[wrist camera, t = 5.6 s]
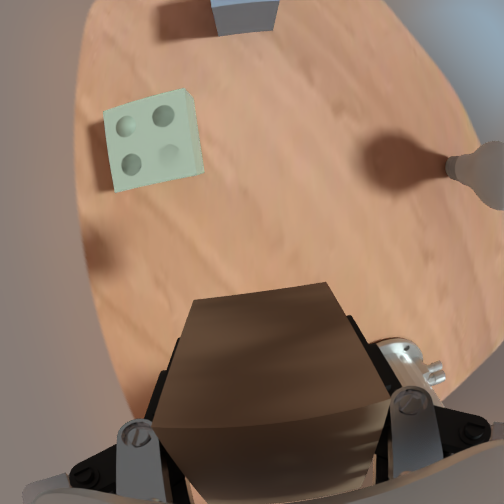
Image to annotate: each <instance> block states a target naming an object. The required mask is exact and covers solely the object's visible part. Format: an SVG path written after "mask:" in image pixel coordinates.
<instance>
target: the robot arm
mask: <svg viewBox="0 0 504 504" xmlns="http://www.w3.org/2000/svg"><path fill="white" fill-rule="evenodd" d="M346 317H347V318H348V320H349V322H350V324H351V325H352V327H353V329H354V331H355V332H356V334H357V336H358V338H359V340H360V341H361V343H362V345H363V347H364V349H365V350H366V352H367V354H368V356H369V358H370V359H371V361H372V363H373V365H374V367H375V369H376V371H377V372H378V374H379V376H380V378H381V380H382V382H383V384H384V386H385V388H386V389H387V391H388V393H389V395H390V397H391V402H390V405H389V409H388V412H387V416H386V419H385V423H384V426H383V429H382V432H381V435H380V438H379V441H378V444H377V447H376V450H375V453H374V456H373V459H374V460H373V461H374V463H373V486H370V487H366V488H362V489H359V490H355V491H351V492H347V493H343V494H339V495H334V496H329V497H324V498H319V499H313V500H307V501H300V502H294V503H285V504H504V423H502V422H494V423H493V425H490V424H489V423H488V422H487V420H485V419H484V418H482V417H480V416H477V415H473V414H468V413H464V412H459V411H455V410H451V409H447V408H445V407H444V405H443V404H442V402H441V401H440V399H439V398H438V396H437V395H436V393H435V392H434V390H433V389H432V387H431V386H432V385H433V386H434V385H436V384H439V383H441V382H443V381H445V373H444V371H443V370H441V369H442V363H441V361H436V362H434V363H431V364H430V365H427V364H424V363H423V355H422V353H421V350H420V349H419V348H418V346H417V345H416V344H415V343H413V342H412V341H410V340H407V339H401V338H396V339H389V340H385V341H381V342H379V343H376V344H375V343H373V344H368V343H367V341H366V339H365V337H364V336H363V334H362V332H361V331H360V329H359V327H358V326H357V324H356V322H355V321H354V319H353V317H352V316H351V315H348V316H346ZM179 340H180V338H178V339H177V342H176V345H175V347H174V350H173V353H172V356H171V359H170V362H169V365H168V367H167V370H163V371H161V373H160V375H159V378H158V380H157V383H156V386H155V389H154V391H153V394H152V397H151V400H150V403H149V406H148V409H147V412H146V414H145V417H144V419H135V420H131V421H129V422H127V423H125V424H124V425H123V426H122V427H121V428H120V430H119V432H118V435H117V444H115V445H113V446H112V447H109V448H108V449H106V450H104V451H102V452H100V453H98V454H96V455H94V456H92V457H90V458H88V459H86V460H84V461H82V462H80V463H78V464H77V465H75V466H74V467H73V468H72V469H71V472H70V474H69V475H67V474H66V473H63V474H60V475H56V476H53V477H50V478H47V479H43V480H40V481H36V482H33V483H30V484H28V485H26V487H25V488H24V490H23V492H22V497H23V503H24V504H194V500H193V496H192V491H191V487H190V482H189V480H188V479H187V478H186V476H185V475H184V474H183V473H182V471H181V470H180V469H179V467H178V466H177V465H176V463H175V462H174V460H173V459H172V458H171V456H170V455H169V453H168V452H167V451H166V449H165V448H164V446H163V445H162V443H161V442H160V440H159V439H158V437H157V436H156V434H155V433H154V431H153V429H152V428H151V425H152V422H153V419H154V415H155V412H156V409H157V406H158V403H159V400H160V396H161V393H162V390H163V387H164V384H165V381H166V378H167V375H168V372H169V369H170V366H171V363H172V360H173V357H174V354H175V351H176V349H177V346H178V343H179ZM430 373H431V374H430Z"/></svg>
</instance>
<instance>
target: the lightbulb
mask: <svg viewBox="0 0 504 504" xmlns="http://www.w3.org/2000/svg"><path fill="white" fill-rule="evenodd" d="M445 169H446V173H447V175H448V176H449V177H450V178H451V179H453V180H456V181H459V182H460V183H462V184H464V185H467V186H469V187H470V188H472V189H473V190H474V192H475V193H476V195H477V196H478V197H479V198H480V199H481V201H482V202H483V203H485V204H486V205H487V206H489V207H490V208H493V209H496V210H504V143H503V142H499V141H492V142H488V143H485V144H483V145H482V146H480V147H479V148H478V149H477V150H476V151H475V152H474V153H472V154H464V155H461V156H452V157H449V158H448V160H447V161H446V165H445Z"/></svg>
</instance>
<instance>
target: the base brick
mask: <svg viewBox="0 0 504 504" xmlns="http://www.w3.org/2000/svg"><path fill="white" fill-rule="evenodd" d="M103 116H104V126H105V134H106V142H107V149H108V155H109V162H110V168H111V174H112V179H113V185H114V190H115V193H117V192H121V191H125V190H129V189H133V188H138V187H142V186H146V185H151V184H155V183H160V182H165V181H170V180H175V179H180V178H185V177H190V176H195V175H199V174H202V173H205V172H204V166H203V159H202V153H201V147H200V140H199V133H198V127H197V120H196V113H195V106H194V98H193V97H192V96H191V95H190V94H189V93H188V92H187V91H186V89H185V88H182V89H178V90H173V91H169V92H165V93H161V94H158V95H154V96H150V97H147V98H143V99H140V100H136V101H133V102H130V103H127V104H124V105H121V106H118V107H115V108H112V109H109V110H106V111H103Z"/></svg>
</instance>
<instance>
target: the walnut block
mask: <svg viewBox="0 0 504 504" xmlns="http://www.w3.org/2000/svg"><path fill="white" fill-rule="evenodd" d="M390 402H391V397H390V395H389V393H388V391H387V389H386V388H385V386H384V384H383V382H382V380H381V378H380V376H379V374H378V372H377V371H376V369H375V367H374V365H373V363H372V361H371V359H370V358H369V356H368V354H367V352H366V350H365V349H364V347H363V345H362V343H361V341H360V340H359V338H358V336H357V334H356V332H355V331H354V329H353V327H352V325H351V324H350V322H349V320H348V318H347V317H346V315H345V313H344V311H343V310H342V308H341V306H340V305H339V303H338V301H337V299H336V298H335V296H334V294H333V293H332V291H331V289H330V288H329V286H328V284H327V283H326V282H322V283H316V284H310V285H303V286H297V287H290V288H283V289H276V290H269V291H262V292H255V293H247V294H240V295H232V296H224V297H215V298H207V299H198V300H194V301H193V303H192V306H191V309H190V312H189V315H188V317H187V320H186V323H185V326H184V329H183V331H182V334H181V337H180V340H179V343H178V346H177V349H176V351H175V354H174V357H173V360H172V363H171V366H170V369H169V372H168V375H167V378H166V381H165V384H164V387H163V390H162V393H161V396H160V400H159V403H158V406H157V409H156V412H155V415H154V419H153V422H152V425H151V428H152V429H153V431H154V433H155V434H156V436H157V437H158V439H159V440H160V442H161V443H162V445H163V446H164V448H165V449H166V451H167V452H168V453H169V455H170V456H171V458H172V459H173V460H174V462H175V463H176V465H177V466H178V467H179V469H180V470H181V471H182V473H183V474H184V475H185V476H186V478H187V479H188V480H189V482H190V483H191V484H192V485H193V487H194V488H195V489H196V490H197V491H198V493H199V494H200V495H201V496H202V497H203V499H204V500H205V501H206V502H207V503H208V504H274V503H284V502H292V501H299V500H306V499H312V498H318V497H323V496H328V495H333V494H337V493H341V492H346V491H350V490H354V489H357V488H360V487H361V486H362V483H363V481H364V479H365V476H366V474H367V471H368V469H369V466H370V463H371V461H372V458H373V456H374V453H375V450H376V447H377V444H378V441H379V438H380V435H381V432H382V429H383V426H384V423H385V419H386V416H387V412H388V409H389V405H390Z"/></svg>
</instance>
